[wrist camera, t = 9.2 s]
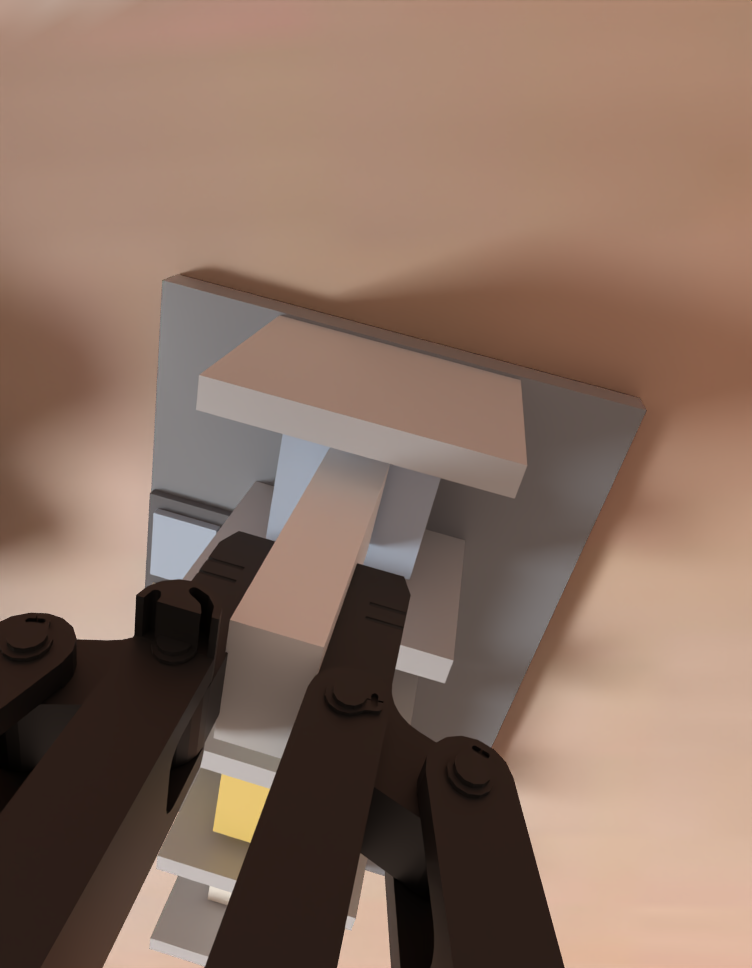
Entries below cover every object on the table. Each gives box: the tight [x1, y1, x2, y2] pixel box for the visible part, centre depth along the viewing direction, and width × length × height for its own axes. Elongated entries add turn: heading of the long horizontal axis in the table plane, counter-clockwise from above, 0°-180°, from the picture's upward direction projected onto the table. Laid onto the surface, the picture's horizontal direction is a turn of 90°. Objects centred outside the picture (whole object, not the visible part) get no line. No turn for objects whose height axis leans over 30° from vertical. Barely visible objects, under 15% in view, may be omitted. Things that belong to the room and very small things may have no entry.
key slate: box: [266, 434, 441, 580], centre depth 17 cm, size 4×4×2 cm
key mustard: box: [213, 774, 270, 843], centre depth 22 cm, size 4×4×2 cm
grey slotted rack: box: [145, 274, 647, 966], centre depth 22 cm, size 14×24×6 cm, turn 167°
